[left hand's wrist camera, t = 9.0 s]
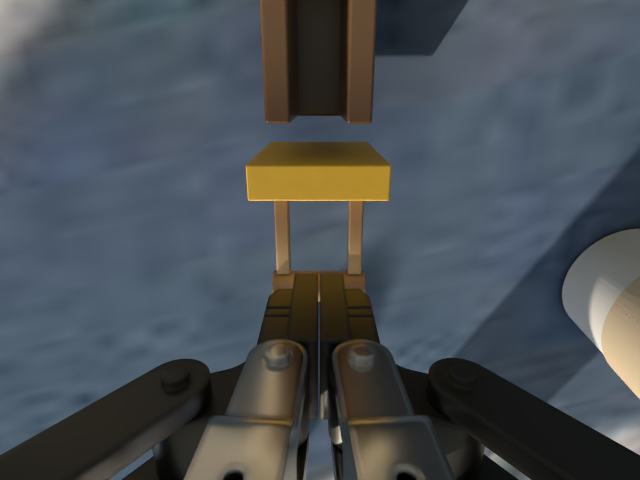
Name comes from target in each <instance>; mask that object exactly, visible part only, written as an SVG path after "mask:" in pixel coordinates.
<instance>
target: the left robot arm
mask: <svg viewBox="0 0 640 480" xmlns="http://www.w3.org/2000/svg"><path fill="white" fill-rule="evenodd" d="M317 404H318V273H295V275H294V283H293V289H277V290H276V291H275V292H274V293H273V294H271V295H270V296H269V298H268V302H267V306H266V310H265V314H264V318H263V322H262V326H261V330H260V334H259V338H258V342H257V346H255V347H254V348H253V349H252V350H251V351H250V352H249V354H248V356H247V359H246V361H245V362H244V363H242V364H240V365H238V366H236V367H234V368H231V369H227V370H223V371H219V372H214V373H210V371H209V369H208V367H207V366H206V365H205V364H204V363H202V362H200V361H198V360H194V359H178V360H173V361H170V362H167V363H164V364H162V365H160V366H158V367H156V368H154V369H153V370H151V371H149V372H147V373H145V374H144V375H142V376H140V377H138V378H137V379H135V380H133V381H131V382H129V383H128V384H126V385H124V386H122V387H121V388H119V389H117V390H115V391H114V392H112V393H110V394H108V395H106V396H105V397H103V398H101V399H99V400H98V401H96V402H94V403H92V404H90V405H89V406H87V407H85V408H83V409H82V410H80V411H78V412H76V413H75V414H73V415H71V416H69V417H67V418H66V419H64V420H62V421H60V422H59V423H57V424H55V425H53V426H51V427H50V428H48V429H46V430H44V431H43V432H41V433H39V434H37V435H35V436H34V437H32V438H30V439H28V440H27V441H25V442H23V443H21V444H20V445H18V446H16V447H14V448H12V449H11V450H9V451H7V452H5V453H4V454H2V455H0V480H109V479H110V478H111V477H113V476H114V475H116V474H117V473H118V472H120V471H121V470H122V469H124V468H125V467H127V466H128V465H129V464H131V463H132V462H134V461H135V460H136V459H138V458H139V457H140V456H142V455H143V454H145V453H146V452H147V451H149V450H150V449H152V450H153V455H154V456H153V457H152V458H150V459H149V460H148V461H146V462H145V463H144V464H142V465H141V466H140V467H138V468H137V469H135V470H134V471H133V472H131V473H130V474H129V475H127V476H126V477H125V478H123V479H122V480H305V478H306V469H307V461H308V452H309V419H317ZM320 419H328V431H329V436H330V438H331V452H332V461H333V469H334V478H335V480H518V479H517V478H515V477H514V476H513V475H511V474H510V473H509V472H507V471H506V470H504V469H503V468H502V467H500V466H499V465H498V464H496V463H495V462H494V461H492V460H491V459H490V458H488V457H487V456H486V455H484V450H485V446H486V447H487V448H488V449H490V450H491V451H493V452H494V453H495V454H497V455H498V456H500V457H501V458H502V459H504V460H505V461H506V462H508V463H509V464H511V465H512V466H513V467H515V468H516V469H518V470H519V471H520V472H522V473H523V474H524V475H526V476H527V477H529V478H530V479H531V480H640V455H638V454H636V453H635V452H633V451H631V450H629V449H628V448H626V447H624V446H622V445H620V444H619V443H617V442H615V441H613V440H612V439H610V438H608V437H606V436H604V435H603V434H601V433H599V432H597V431H596V430H594V429H592V428H590V427H589V426H587V425H585V424H583V423H581V422H580V421H578V420H576V419H574V418H573V417H571V416H569V415H567V414H565V413H564V412H562V411H560V410H558V409H557V408H555V407H553V406H551V405H550V404H548V403H546V402H544V401H542V400H541V399H539V398H537V397H535V396H534V395H532V394H530V393H528V392H526V391H525V390H523V389H521V388H519V387H518V386H516V385H514V384H512V383H511V382H509V381H507V380H505V379H503V378H502V377H500V376H498V375H496V374H495V373H493V372H491V371H489V370H487V369H486V368H484V367H482V366H480V365H478V364H476V363H474V362H471V361H468V360H465V359H459V358H446V359H441V360H438V361H436V362H435V363H434V364H432V366H431V367H430V369H429V374H427V373H422V372H418V371H413V370H409V369H406V368H403V367H400V366H398V365H396V364H395V361H394V359H393V356H392V354H391V352H390V351H389V350H388V349H387V348H386V347H385V346H383V345H381V344H380V341H379V337H378V332H377V328H376V324H375V320H374V317H373V311H372V307H371V303H370V298H369V297H368V296H367V295H366V294H365V293H364V292H363V291H362V290H361V289H345V284H344V276H343V273H320Z"/></svg>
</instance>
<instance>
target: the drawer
mask: <svg viewBox="0 0 640 480" xmlns="http://www.w3.org/2000/svg"><path fill="white" fill-rule="evenodd" d="M260 15H261V37H262V60H263V82H264V104H265V121H266V123H268V124H288V123H290V122H291V121H292V120H293V119H294V118H296V117H297V116H341V117H342V118H343V119H344V120H345V121H346V122H347V123H349V124H369V123H371V122H372V108H373V85H374V62H375V40H376V17H377V0H260ZM246 177H247V193H248V200H250V201H274V213H275V238H276V262H277V271H274V272H273V278H272V294H273V293H274V292H275V291H276V290H277V289H293V283H294V275H295V273H318V302H320V273H343V276H344V284H345V289H361V290H362V291H363V292H364V293H365V294H366V279H365V273H364V271H361V258H362V233H363V208H364V201H388V200H389V197H390V181H391V165H390V164H389V163H388V162H387V161H386V160H385V159H384V158H383V157H382V156H381V155H380V154H379V153H378V152H377V151H376V150H375V149H374V148H373V147H371V146H370V145H369V144H368V143H367V142H271V143H270V144H269V145H267V146H266V147H265V148H264V149H263V150H262V151H261V152H260V153H259V154H258V155H257V156H256V157H255V158H254V159H252V160H251V161H250V162H249V163H248V164H247V165H246ZM289 201H349V212H348V251H347V271H291V255H290V218H289Z"/></svg>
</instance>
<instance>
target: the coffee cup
mask: <svg viewBox="0 0 640 480" xmlns="http://www.w3.org/2000/svg"><path fill="white" fill-rule="evenodd" d="M562 301H563V305H564V308H565V310H566V312H567V314H568V315H569V317H570V318H571V319H572V320H573V321H574V322H575V323H576V325H577V326H578V327H579V328H580V329H581V330H582V331H583V332H584V333H585V334H586V336H587V337H588V338H589V339H590V340H591V341H592V342H593V343H594V344H595V345H596V347H597V348H598V349H599V350H600V351H601V352H602V353H603V354H604V356H605V359H606V360H607V362H608V364H609V365H610V366H611V367H612V369H613V370H614V371H615V372H616V373H617V374H618V375H619V376H620V378H621V379H622V380H623V381H624V382H625V383H626V384H627V385H628V386H629V388H630V389H631V390H632V391H633V392H634V393H635V394H636V395H637V397H638V398H639V399H640V229H630V230H624V231H620V232H617V233H614V234H611V235H609V236H607V237H604V238H603V239H601V240H599V241H597V242H596V243H594V244H593V245H591V246H590V247H589V248H587V249H586V250H585V251H584V252H583V253H582V254H581V255H580V256H579V257H578V258H577V259H576V261H575V262H574V263H573V265H572V266H571V268H570V269H569V271H568V273H567V275H566V278H565V280H564V284H563V289H562Z"/></svg>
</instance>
